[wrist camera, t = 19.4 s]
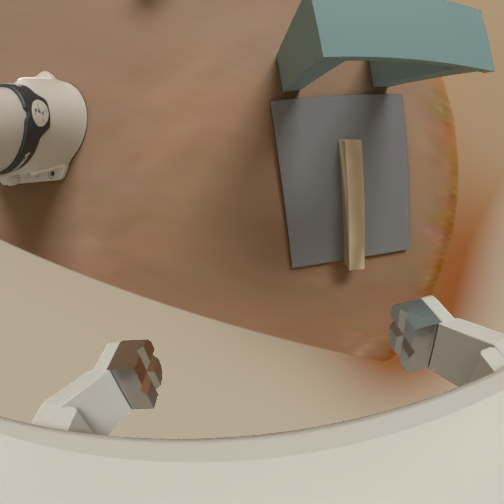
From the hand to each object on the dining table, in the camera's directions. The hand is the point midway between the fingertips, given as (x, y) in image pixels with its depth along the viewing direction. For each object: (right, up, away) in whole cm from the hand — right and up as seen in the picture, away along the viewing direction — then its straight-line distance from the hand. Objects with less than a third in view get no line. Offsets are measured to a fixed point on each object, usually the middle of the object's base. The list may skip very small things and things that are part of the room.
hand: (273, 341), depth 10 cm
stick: (+14, +10, +35) cm, 39 cm away
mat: (+14, +14, +35) cm, 40 cm away
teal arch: (+11, +29, +29) cm, 42 cm away
